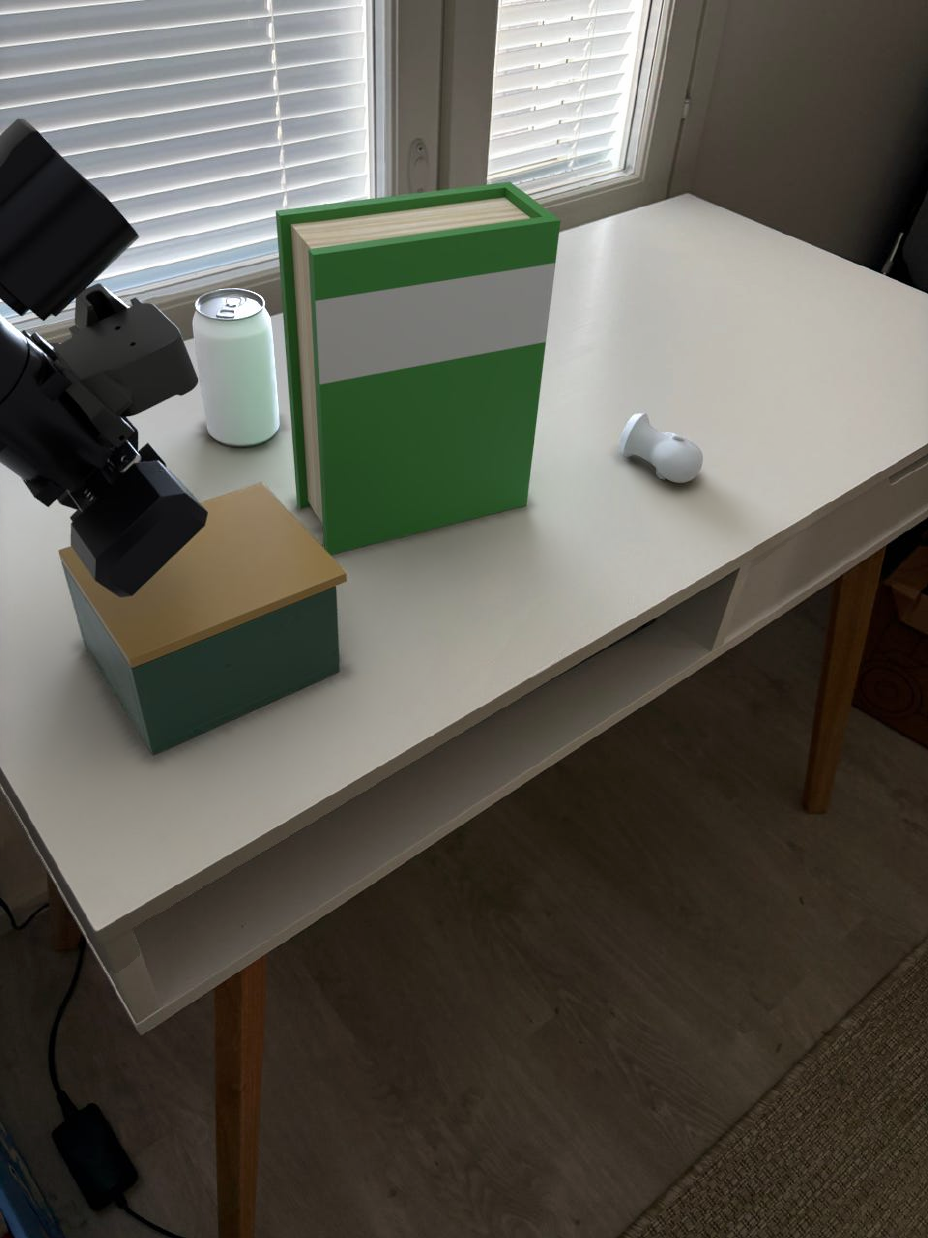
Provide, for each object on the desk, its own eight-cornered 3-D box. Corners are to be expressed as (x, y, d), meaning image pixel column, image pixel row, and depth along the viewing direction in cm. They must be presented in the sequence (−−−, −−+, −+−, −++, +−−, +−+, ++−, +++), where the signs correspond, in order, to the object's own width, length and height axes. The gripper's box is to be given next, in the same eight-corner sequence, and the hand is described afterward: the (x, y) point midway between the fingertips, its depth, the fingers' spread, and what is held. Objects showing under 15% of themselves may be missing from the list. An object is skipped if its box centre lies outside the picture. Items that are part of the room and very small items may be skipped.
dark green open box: (261, 578, 76) (252, 494, 71) (340, 671, 70) (336, 586, 64) (84, 646, 70) (60, 560, 65) (152, 756, 63) (131, 669, 58)
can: (287, 413, 93) (278, 289, 85) (270, 452, 88) (258, 325, 80) (218, 406, 93) (202, 282, 85) (197, 444, 89) (178, 317, 81)
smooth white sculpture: (703, 491, 90) (670, 496, 86) (639, 448, 94) (605, 450, 91) (725, 448, 88) (691, 451, 84) (658, 405, 92) (623, 406, 88)
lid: (262, 490, 71) (261, 481, 71) (347, 581, 65) (347, 572, 64) (60, 559, 65) (57, 549, 64) (131, 669, 58) (129, 659, 58)
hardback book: (327, 555, 79) (313, 254, 62) (296, 502, 83) (275, 210, 67) (526, 505, 85) (560, 219, 69) (486, 458, 90) (509, 181, 73)
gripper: (183, 342, 44) (353, 522, 57) (37, 197, 55) (208, 376, 67) (-2, 521, 44) (211, 661, 57) (-113, 340, 54) (87, 492, 67)
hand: (180, 534), depth 62 cm, fingers closed
